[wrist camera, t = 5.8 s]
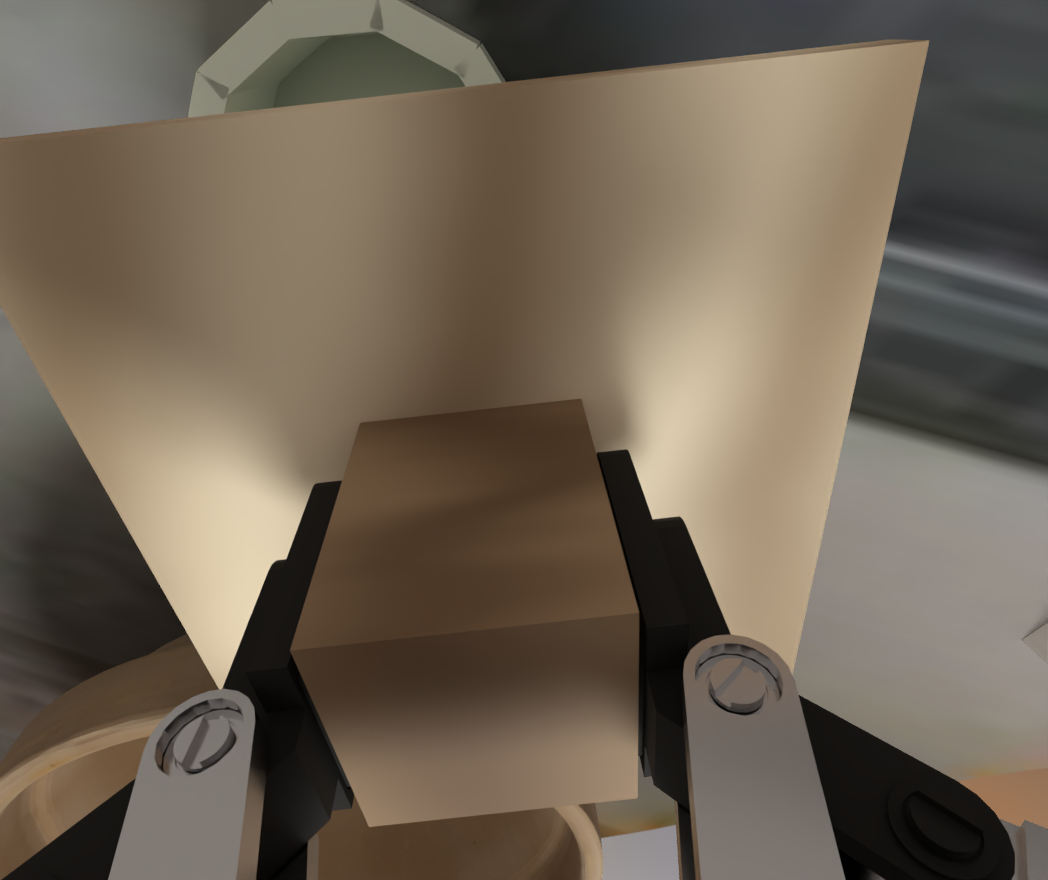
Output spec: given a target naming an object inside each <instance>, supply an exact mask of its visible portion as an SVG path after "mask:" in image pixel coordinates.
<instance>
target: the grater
mask: <svg viewBox="0 0 1048 880" xmlns="http://www.w3.org/2000/svg"><path fill="white" fill-rule="evenodd" d="M1022 641H1023V642H1024V643H1025V644H1026V645H1027V646H1028V647H1030V648H1031V649H1032V650H1033V651H1034V652H1035V653H1036V654H1037V655H1038V656H1039V657H1040V658H1041V659H1043V660H1044V661H1045V662H1046V663H1047V664H1048V623H1046V624H1045V625H1043V626H1042V627H1040V628H1039V629H1037V630H1036V631H1034V632H1033V633H1031V634H1030V635H1028V636H1027V637H1025V638H1024V639H1022Z"/></svg>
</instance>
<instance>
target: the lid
mask: <svg viewBox="0 0 1048 880" xmlns="http://www.w3.org/2000/svg"><path fill="white" fill-rule="evenodd" d="M928 45H929V41H928V40H881V41H872V42H863V43H854V44H845V45H836V46H827V47H818V48H809V49H800V50H791V51H782V52H773V53H764V54H755V55H746V56H737V57H728V58H719V59H710V60H701V61H692V62H683V63H674V64H665V65H656V66H647V67H638V68H629V69H620V70H611V71H602V72H593V73H584V74H575V75H566V76H557V77H548V78H539V79H530V80H521V81H512V82H503V83H494V84H485V85H476V86H467V87H458V88H449V89H440V90H431V91H422V92H413V93H404V94H395V95H386V96H377V97H368V98H359V99H350V100H341V101H332V102H323V103H314V104H305V105H296V106H287V107H278V108H269V109H260V110H251V111H242V112H233V113H224V114H215V115H206V116H197V117H188V118H179V119H170V120H161V121H152V122H143V123H134V124H125V125H116V126H107V127H98V128H89V129H80V130H71V131H62V132H53V133H44V134H35V135H26V136H17V137H8V138H0V306H1V308H2V310H3V311H4V313H5V315H6V317H7V318H8V320H9V322H10V324H11V325H12V327H13V329H14V331H15V332H16V334H17V336H18V338H19V339H20V341H21V343H22V345H23V346H24V348H25V350H26V352H27V353H28V355H29V357H30V359H31V360H32V362H33V364H34V366H35V367H36V369H37V371H38V373H39V374H40V376H41V378H42V380H43V381H44V383H45V385H46V387H47V388H48V390H49V392H50V394H51V395H52V397H53V399H54V401H55V402H56V404H57V406H58V408H59V409H60V411H61V413H62V415H63V416H64V418H65V420H66V422H67V423H68V425H69V427H70V429H71V430H72V432H73V434H74V436H75V438H76V439H77V441H78V443H79V445H80V446H81V448H82V450H83V452H84V453H85V455H86V457H87V459H88V460H89V462H90V464H91V466H92V467H93V469H94V471H95V473H96V474H97V476H98V478H99V480H100V481H101V483H102V485H103V487H104V488H105V490H106V492H107V494H108V495H109V497H110V499H111V501H112V502H113V504H114V506H115V508H116V509H117V511H118V513H119V515H120V516H121V518H122V520H123V522H124V523H125V525H126V527H127V529H128V530H129V532H130V534H131V536H132V537H133V539H134V541H135V543H136V544H137V546H138V548H139V550H140V551H141V553H142V555H143V557H144V558H145V560H146V562H147V564H148V565H149V567H150V569H151V571H152V573H153V574H154V576H155V578H156V580H157V581H158V583H159V585H160V587H161V588H162V590H163V592H164V594H165V595H166V597H167V599H168V601H169V602H170V604H171V606H172V608H173V609H174V611H175V613H176V615H177V616H178V618H179V620H180V622H181V623H182V625H183V627H184V629H185V630H186V632H187V634H188V636H189V637H190V639H191V641H192V643H193V644H194V646H195V648H196V650H197V651H198V653H199V655H200V657H201V658H202V660H203V662H204V664H205V665H206V667H207V669H208V671H209V672H210V674H211V676H212V678H213V679H214V681H215V683H216V685H217V686H218V688H219V690H220V689H222V688H223V685H224V683H225V680H226V678H227V675H228V673H229V670H230V668H231V665H232V662H233V660H234V657H235V655H236V652H237V650H238V647H239V645H240V642H241V640H242V637H243V634H244V632H245V629H246V627H247V624H248V622H249V619H250V617H251V614H252V612H253V609H254V606H255V604H256V601H257V599H258V596H259V594H260V591H261V589H262V586H263V584H264V581H265V578H266V576H267V573H268V571H269V569H270V567H271V565H272V564H273V563H274V562H275V561H276V560H284V559H287V556H288V553H289V550H290V548H291V545H292V542H293V540H294V537H295V534H296V531H297V529H298V526H299V523H300V521H301V518H302V515H303V512H304V510H305V507H306V504H307V501H308V499H309V496H310V493H311V491H312V488H313V486H314V484H316V483H322V482H331V481H340V480H342V483H341V486H340V490H339V493H338V496H337V499H336V503H335V506H334V509H333V512H332V516H331V519H330V522H329V525H328V528H327V532H326V535H325V538H324V541H323V545H322V548H321V551H320V554H319V558H318V561H317V564H316V567H315V571H314V574H313V577H312V580H311V584H310V587H309V590H308V593H307V597H306V600H305V603H304V606H303V610H302V613H301V616H300V619H299V623H298V626H297V629H296V632H295V636H294V639H293V642H292V645H291V649H290V652H291V654H292V656H293V659H294V661H295V663H296V665H297V668H298V670H299V672H300V674H301V676H302V679H303V681H304V683H305V685H306V688H307V690H308V692H309V694H310V696H311V699H312V701H313V703H314V705H315V708H316V710H317V712H318V714H319V717H320V719H321V721H322V723H323V725H324V728H325V730H326V732H327V734H328V737H329V739H330V741H331V743H332V746H333V748H334V750H335V752H336V754H337V757H338V759H339V761H340V763H341V766H342V768H343V770H344V772H345V774H346V777H347V779H348V781H349V783H350V786H351V788H352V790H353V792H354V795H355V797H356V799H357V801H358V803H359V806H360V808H361V810H362V812H363V815H364V817H365V819H366V821H367V824H368V826H369V827H374V826H383V825H392V824H402V823H411V822H420V821H430V820H439V819H448V818H458V817H467V816H476V815H486V814H495V813H504V812H514V811H523V810H532V809H542V808H551V807H560V806H570V805H579V804H588V803H598V802H607V801H616V800H626V799H635V798H638V697H639V610H638V606H637V603H636V599H635V595H634V592H633V588H632V584H631V581H630V577H629V573H628V570H627V566H626V562H625V558H624V555H623V551H622V547H621V544H620V540H619V536H618V533H617V529H616V525H615V521H614V518H613V514H612V510H611V507H610V503H609V499H608V496H607V492H606V488H605V484H604V481H603V477H602V473H601V470H600V466H599V462H598V459H597V452H605V451H615V450H624V449H627V450H628V451H629V453H630V456H631V459H632V462H633V464H634V467H635V470H636V473H637V476H638V479H639V482H640V484H641V487H642V490H643V493H644V496H645V499H646V502H647V505H648V507H649V510H650V513H651V516H652V519H660V518H669V517H678V516H680V517H681V518H682V519H683V521H684V522H685V524H686V527H687V529H688V532H689V534H690V536H691V539H692V541H693V544H694V546H695V548H696V551H697V553H698V556H699V558H700V561H701V563H702V565H703V568H704V570H705V573H706V575H707V578H708V580H709V582H710V585H711V587H712V590H713V592H714V595H715V597H716V599H717V602H718V604H719V607H720V609H721V611H722V614H723V616H724V619H725V621H726V624H727V626H728V628H729V631H730V633H731V634H732V635H738V636H744V637H749V638H751V639H754V640H756V641H758V642H761V643H763V644H765V645H766V646H768V647H769V648H771V649H772V650H773V651H775V652H776V653H778V655H779V656H780V657H781V658H782V659H783V660H784V662H785V663H786V664H787V665H788V666H789V669H790V671H791V673H792V674H793V669H794V665H795V660H796V655H797V651H798V646H799V641H800V637H801V632H802V628H803V623H804V618H805V614H806V609H807V604H808V600H809V595H810V591H811V586H812V581H813V577H814V572H815V567H816V563H817V558H818V554H819V549H820V544H821V540H822V535H823V530H824V526H825V521H826V517H827V512H828V507H829V503H830V498H831V493H832V489H833V484H834V480H835V475H836V470H837V466H838V461H839V456H840V452H841V447H842V443H843V438H844V433H845V429H846V424H847V419H848V415H849V410H850V406H851V401H852V396H853V392H854V387H855V382H856V378H857V373H858V369H859V364H860V359H861V355H862V350H863V345H864V341H865V336H866V332H867V327H868V322H869V318H870V313H871V308H872V304H873V299H874V295H875V290H876V285H877V281H878V276H879V271H880V267H881V262H882V258H883V253H884V248H885V244H886V239H887V234H888V230H889V225H890V220H891V216H892V211H893V207H894V202H895V197H896V193H897V188H898V183H899V179H900V174H901V170H902V165H903V160H904V156H905V151H906V146H907V142H908V137H909V133H910V128H911V123H912V119H913V114H914V109H915V105H916V100H917V96H918V91H919V86H920V82H921V77H922V72H923V68H924V63H925V59H926V54H927V49H928Z"/></svg>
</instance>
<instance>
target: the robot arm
mask: <svg viewBox="0 0 1048 880" xmlns="http://www.w3.org/2000/svg"><path fill="white" fill-rule="evenodd" d="M597 459H598V462H599V466H600V470H601V473H602V477H603V481H604V484H605V488H606V492H607V496H608V499H609V503H610V507H611V510H612V514H613V518H614V521H615V525H616V529H617V533H618V536H619V540H620V544H621V547H622V551H623V555H624V558H625V562H626V566H627V570H628V573H629V577H630V581H631V584H632V588H633V592H634V595H635V599H636V603H637V606H638V610H639V697H638V756H640V760H641V764H642V769H643V773H644V777H649V776H652V779H653V783H654V785H655V786H656V787H657V788H659V789H660V790H662V791H663V792H664V793H666V794H667V795H668V796H670V797H671V798H673V799H674V800H675V815H676V831H677V847H678V863H679V879H680V880H1048V829H1046V828H1044V827H1041V826H1039V825H1036V824H1034V823H1031V822H1028V821H1026V820H1025V821H1024V822H1023V824H1022V825H1021V827H1019V826H1016V825H1014V824H1011V823H1009V822H1006V821H1004V820H1001V819H999V818H998V817H997V815H996V814H995V812H994V811H993V810H992V809H991V808H990V807H989V806H988V805H987V804H986V803H985V802H984V801H983V800H982V799H981V798H980V797H978V795H977V794H975V793H974V792H972V791H970V790H969V789H968V788H966V787H965V786H963V785H962V784H960V783H959V782H957V781H956V780H954V779H952V778H950V777H948V776H947V775H945V774H943V773H941V772H939V771H937V770H935V769H934V768H932V767H930V766H928V765H926V764H924V763H923V762H921V761H919V760H917V759H915V758H913V757H912V756H910V755H908V754H906V753H904V752H902V751H901V750H899V749H897V748H895V747H893V746H891V745H890V744H888V743H886V742H884V741H882V740H880V739H879V738H877V737H875V736H873V735H871V734H869V733H868V732H866V731H864V730H862V729H860V728H858V727H857V726H855V725H853V724H851V723H849V722H847V721H846V720H844V719H842V718H840V717H838V716H836V715H835V714H833V713H831V712H829V711H827V710H825V709H824V708H822V707H820V706H818V705H816V704H814V703H813V702H811V701H809V700H807V699H805V698H803V697H801V696H800V695H798V691H797V687H796V683H795V680H794V678H793V675H792V673H791V671H790V669H789V666H788V665H787V664H786V663H785V662H784V660H783V659H782V658H781V657H780V656H779V655H778V653H776V652H775V651H773V650H772V649H771V648H769V647H768V646H766V645H765V644H763V643H761V642H758V641H756V640H754V639H751V638H749V637H744V636H738V635H732V634H731V633H730V631H729V628H728V626H727V624H726V621H725V619H724V616H723V614H722V611H721V609H720V607H719V604H718V602H717V599H716V597H715V595H714V592H713V590H712V587H711V585H710V582H709V580H708V578H707V575H706V573H705V570H704V568H703V565H702V563H701V561H700V558H699V556H698V553H697V551H696V548H695V546H694V544H693V541H692V539H691V536H690V534H689V532H688V529H687V527H686V524H685V522H684V521H683V519H682V518H681V517H680V516H678V517H669V518H660V519H652V516H651V513H650V510H649V507H648V505H647V502H646V499H645V496H644V493H643V490H642V487H641V484H640V482H639V479H638V476H637V473H636V470H635V467H634V464H633V462H632V459H631V456H630V453H629V451H628V450H627V449H624V450H615V451H605V452H597ZM341 483H342V480H340V481H331V482H322V483H316V484H314V486H313V488H312V491H311V493H310V496H309V499H308V501H307V504H306V507H305V510H304V512H303V515H302V518H301V521H300V523H299V526H298V529H297V531H296V534H295V537H294V540H293V542H292V545H291V548H290V550H289V553H288V556H287V559H284V560H276V561H275V562H274V563H273V564H272V565H271V567H270V569H269V571H268V573H267V576H266V578H265V581H264V584H263V586H262V589H261V591H260V594H259V596H258V599H257V601H256V604H255V606H254V609H253V612H252V614H251V617H250V619H249V622H248V624H247V627H246V629H245V632H244V634H243V637H242V640H241V642H240V645H239V647H238V650H237V652H236V655H235V657H234V660H233V662H232V665H231V668H230V670H229V673H228V675H227V678H226V680H225V683H224V685H223V688H222V689H220V690H212V691H207V692H205V693H202V694H199V695H197V696H194V697H192V698H190V699H189V700H187V701H185V702H184V703H182V704H180V705H179V706H177V707H176V708H175V709H173V710H172V711H171V712H170V713H169V714H168V715H167V716H166V717H165V718H163V719H162V720H161V722H160V723H159V724H158V726H157V727H156V728H155V730H154V731H153V732H152V734H151V735H150V737H149V739H148V742H147V744H146V746H145V748H144V751H143V754H142V758H141V762H140V765H139V769H138V772H137V776H136V778H135V779H134V780H133V781H131V782H130V783H129V784H127V785H126V786H125V787H123V788H122V789H121V790H119V791H118V792H117V793H115V794H114V795H113V796H111V797H110V798H109V799H107V800H106V801H105V802H103V803H102V804H101V805H99V806H98V807H97V808H96V809H94V810H93V811H92V812H90V813H89V814H88V815H86V816H85V817H84V818H82V819H81V820H80V821H78V822H77V823H76V824H74V825H73V826H72V827H70V828H69V829H68V830H66V831H65V832H64V833H62V834H61V835H60V836H58V837H57V838H56V839H55V840H53V841H52V842H51V843H49V844H48V845H47V846H45V847H44V848H43V849H41V850H40V851H39V852H37V853H36V854H35V855H33V856H32V857H31V858H29V859H28V860H27V861H25V862H24V863H23V864H21V865H20V866H19V867H17V868H16V869H15V870H13V871H12V872H11V873H10V874H8V875H7V876H6V877H4V878H3V879H2V880H318V856H319V835H318V831H319V830H320V829H321V828H322V827H323V826H324V825H325V824H326V823H327V822H329V821H330V818H331V813H332V811H334V810H343V809H352V805H353V799H354V792H353V790H352V788H351V786H350V783H349V781H348V779H347V777H346V774H345V772H344V770H343V768H342V766H341V763H340V761H339V759H338V757H337V754H336V752H335V750H334V748H333V746H332V743H331V741H330V739H329V737H328V734H327V732H326V730H325V728H324V725H323V723H322V721H321V719H320V717H319V714H318V712H317V710H316V708H315V705H314V703H313V701H312V699H311V696H310V694H309V692H308V690H307V688H306V685H305V683H304V681H303V679H302V676H301V674H300V672H299V670H298V668H297V665H296V663H295V661H294V659H293V656H292V654H291V652H290V649H291V645H292V642H293V639H294V636H295V632H296V629H297V626H298V623H299V619H300V616H301V613H302V610H303V606H304V603H305V600H306V597H307V593H308V590H309V587H310V584H311V580H312V577H313V574H314V571H315V567H316V564H317V561H318V558H319V554H320V551H321V548H322V545H323V541H324V538H325V535H326V532H327V528H328V525H329V522H330V519H331V516H332V512H333V509H334V506H335V503H336V499H337V496H338V493H339V490H340V486H341Z"/></svg>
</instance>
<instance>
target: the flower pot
mask: <svg viewBox="0 0 1048 880" xmlns="http://www.w3.org/2000/svg"><path fill="white" fill-rule="evenodd" d="M212 690H219V688H218V686H217V685H216V683H215V681H214V679H213V678H212V676H211V674H210V672H209V671H208V669H207V667H206V665H205V664H204V662H203V660H202V658H201V657H200V655H199V653H198V651H197V650H196V648H195V646H194V644H193V643H192V641H191V639H190V637H189V636H188V634H186V635H184V636H182V637H179V638H177V639H175V640H173V641H171V642H169V643H167V644H165V645H163V646H162V647H160V648H158V649H157V650H155V651H154V652H152V653H151V654H149V655H146V656H143V657H140V658H137V659H134V660H131V661H128V662H125V663H123V664H120V665H118V666H115V667H113V668H110V669H108V670H105V671H103V672H101V673H99V674H97V675H95V676H93V677H91V678H89V679H87V680H85V681H84V682H82V683H80V684H78V685H77V686H75V687H74V688H72V689H70V690H69V691H67V692H65V693H64V694H63V695H61V696H60V697H59V698H57V699H56V700H55V701H53V702H52V703H51V704H49V705H48V706H47V707H46V708H45V709H44V710H43V711H41V712H40V713H39V714H38V715H37V716H36V717H35V718H34V719H33V720H32V721H31V722H30V723H29V725H28V726H27V727H26V728H25V729H24V731H23V732H22V733H21V734H20V736H19V737H18V738H17V740H16V741H15V743H14V744H13V746H12V747H11V749H10V750H9V751H8V753H7V754H6V756H5V757H4V759H3V760H2V761H1V763H0V880H2V879H3V878H4V877H6V876H7V875H8V874H10V873H11V872H12V871H13V870H15V869H16V868H17V867H19V866H20V865H21V864H23V863H24V862H25V861H27V860H28V859H29V858H31V857H32V856H33V855H35V854H36V853H37V852H39V851H40V850H41V849H43V848H44V847H45V846H47V845H48V844H49V843H51V842H52V841H53V840H55V839H56V838H57V837H58V836H60V835H61V834H62V833H64V832H65V831H66V830H68V829H69V828H70V827H72V826H73V825H74V824H76V823H77V822H78V821H80V820H81V819H82V818H84V817H85V816H86V815H88V814H89V813H90V812H92V811H93V810H94V809H96V808H97V807H98V806H99V805H101V804H102V803H103V802H105V801H106V800H107V799H109V798H110V797H111V796H113V795H114V794H115V793H117V792H118V791H119V790H121V789H122V788H123V787H125V786H126V785H127V784H129V783H130V782H131V781H133V780H134V779H135V778H136V776H137V772H138V769H139V765H140V762H141V758H142V754H143V751H144V748H145V746H146V744H147V742H148V739H149V737H150V735H151V734H152V732H153V731H154V730H155V728H156V727H157V726H158V724H159V723H160V722H161V720H162V719H163V718H165V717H166V716H167V715H168V714H169V713H170V712H171V711H172V710H173V709H175V708H176V707H177V706H179V705H180V704H182V703H184V702H185V701H187V700H189V699H190V698H192V697H194V696H197V695H199V694H202V693H205V692H207V691H212ZM318 835H319V856H318V880H601V879H602V874H603V853H602V845H601V836H600V829H599V823H598V818H597V812H596V807H595V803H588V804H579V805H570V806H560V807H551V808H542V809H532V810H523V811H514V812H504V813H495V814H486V815H476V816H467V817H458V818H448V819H439V820H430V821H420V822H411V823H402V824H392V825H383V826H374V827H369V826H368V824H367V821H366V819H365V817H364V815H363V812H362V810H361V808H360V806H359V803H358V801H357V799H356V797H355V795H354V799H353V805H352V809H343V810H334V811H332V813H331V818H330V821H329V822H327V823H326V824H325V825H324V826H323V827H322V828H321V829H320V830H319V831H318Z"/></svg>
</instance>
